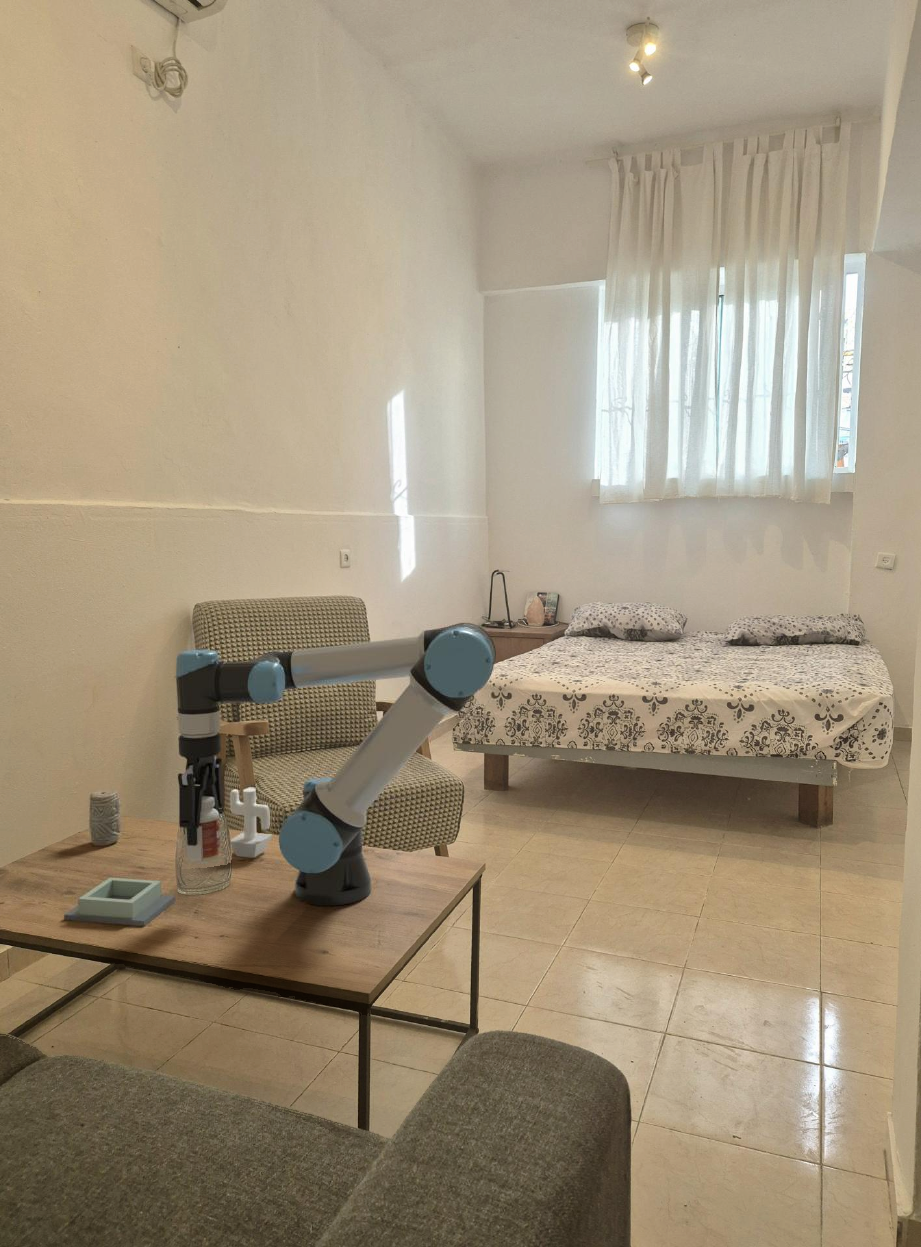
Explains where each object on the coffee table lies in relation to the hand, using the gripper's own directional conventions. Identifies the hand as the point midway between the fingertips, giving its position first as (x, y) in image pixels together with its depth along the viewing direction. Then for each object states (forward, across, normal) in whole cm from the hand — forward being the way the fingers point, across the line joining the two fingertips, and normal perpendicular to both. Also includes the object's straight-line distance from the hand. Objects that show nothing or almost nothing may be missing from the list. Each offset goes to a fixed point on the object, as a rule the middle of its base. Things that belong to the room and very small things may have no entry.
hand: (203, 854), depth 169 cm
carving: (+11, -34, -41) cm, 54 cm away
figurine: (+12, -33, -5) cm, 35 cm away
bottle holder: (+11, +1, -17) cm, 20 cm away
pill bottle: (+1, 0, 0) cm, 1 cm away
